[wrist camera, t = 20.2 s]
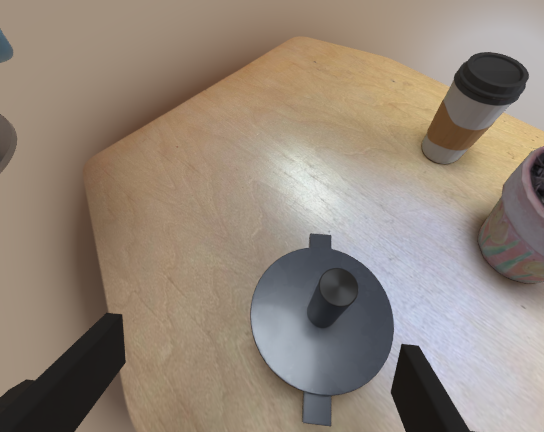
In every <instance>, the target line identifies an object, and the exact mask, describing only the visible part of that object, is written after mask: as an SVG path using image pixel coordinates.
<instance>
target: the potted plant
mask: <svg viewBox="0 0 544 432" xmlns="http://www.w3.org/2000/svg"><path fill="white" fill-rule="evenodd" d="M533 149H534V148H533ZM478 243H479V246H480V249H481V252H482V254H483V257H484V258H485V260H486V261H487V262H488V263H489V264H490V265H491V266H492V267H493V268H494V269H495V270H496V271H498V272H499V273H500V274H502V275H504V276H506V277H507V278H509V279H511V280H515V281H519V282H523V283H537V282H544V146H543V147H540V148H538V149H536V150H534V151H532V152H531V153H530V154H529V155H528V156H527V157H526V158H525V159H524V161H523V162H522V163H521V164H520V165H519V166H518V167H517V168H516V170H515V171H514V172H513V173H512V174H511V175H510V177H509V178H508V179H507V181H506V182H505V183H504V185H503V189H502V196H501V198H500V199H499V201H498V202H497V204H496V206H495V207H494V209H493V210H492V212H491V213H490V215H489V216H488V218H487V219H486V221H485V222H484V224H483V225H482V227H481V228H480V230H479V236H478Z"/></svg>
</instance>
